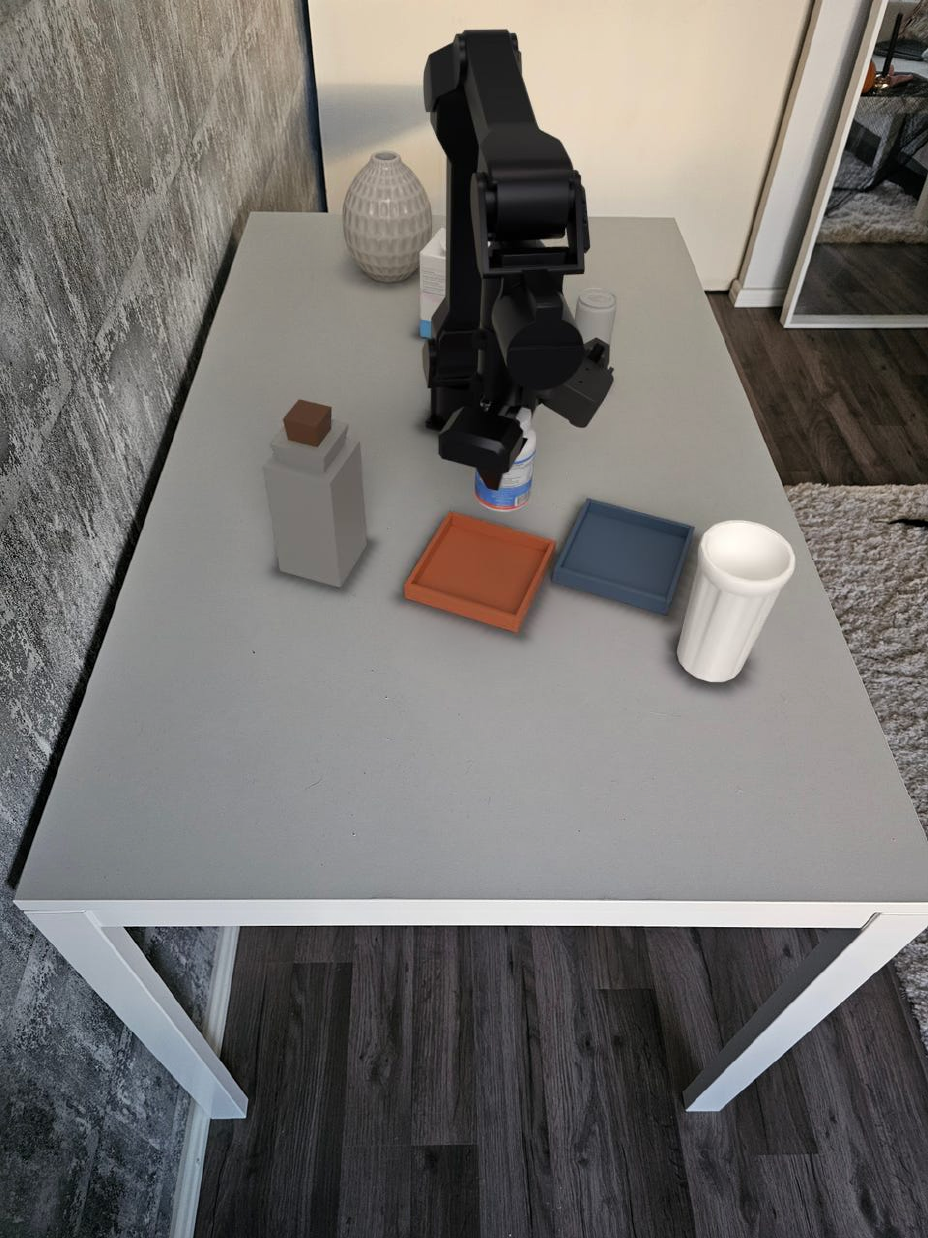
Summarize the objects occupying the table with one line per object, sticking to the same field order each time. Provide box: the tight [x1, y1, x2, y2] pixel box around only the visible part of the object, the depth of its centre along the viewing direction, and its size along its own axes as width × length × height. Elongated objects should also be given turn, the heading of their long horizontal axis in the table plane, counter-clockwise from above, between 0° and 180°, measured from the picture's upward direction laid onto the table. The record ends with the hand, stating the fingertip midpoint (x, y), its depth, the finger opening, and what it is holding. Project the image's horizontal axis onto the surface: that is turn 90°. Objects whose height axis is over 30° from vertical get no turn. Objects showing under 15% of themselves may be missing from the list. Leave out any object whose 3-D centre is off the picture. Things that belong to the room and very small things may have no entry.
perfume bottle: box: [262, 399, 368, 588], centre depth 88 cm, size 7×7×18 cm
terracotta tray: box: [403, 510, 557, 634], centre depth 93 cm, size 12×12×2 cm
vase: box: [341, 150, 433, 284], centre depth 129 cm, size 13×13×17 cm
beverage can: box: [574, 286, 618, 346], centre depth 113 cm, size 5×5×12 cm
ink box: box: [419, 227, 490, 338], centre depth 121 cm, size 9×8×13 cm
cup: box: [676, 519, 797, 683], centre depth 82 cm, size 8×8×14 cm
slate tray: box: [551, 497, 696, 616], centre depth 95 cm, size 12×12×2 cm
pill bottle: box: [474, 408, 537, 513], centre depth 84 cm, size 6×5×10 cm
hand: (503, 470), depth 85 cm, fingers closed on pill bottle, 5 cm apart
